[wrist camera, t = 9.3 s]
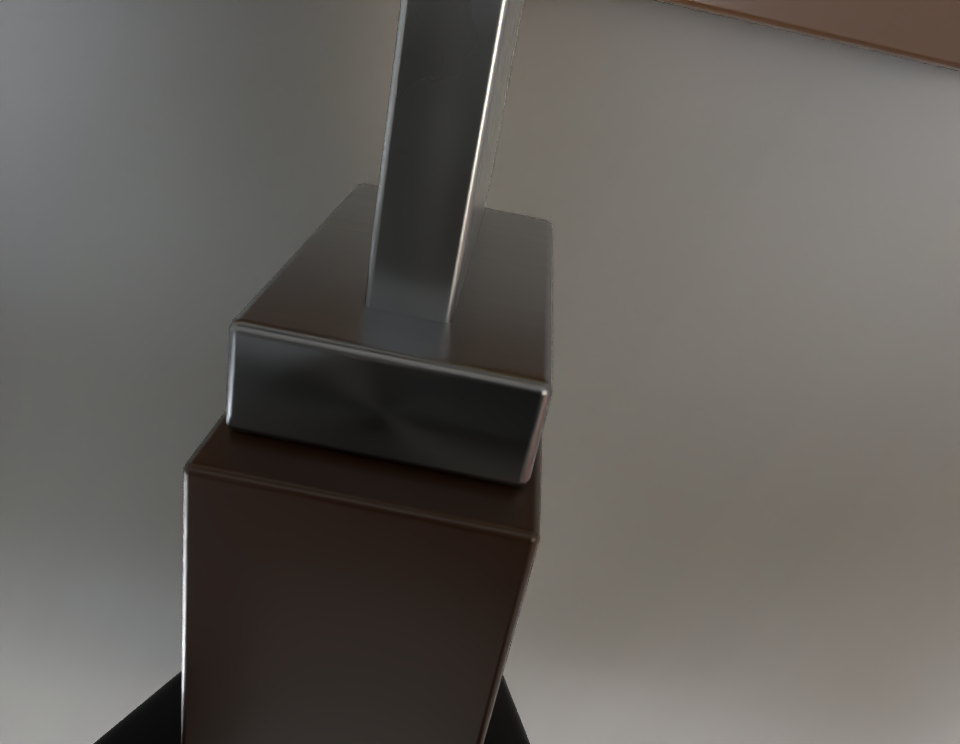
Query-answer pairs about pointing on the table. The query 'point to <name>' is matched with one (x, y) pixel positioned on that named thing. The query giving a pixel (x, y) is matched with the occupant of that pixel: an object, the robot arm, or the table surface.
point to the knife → (380, 437)
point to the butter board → (858, 23)
